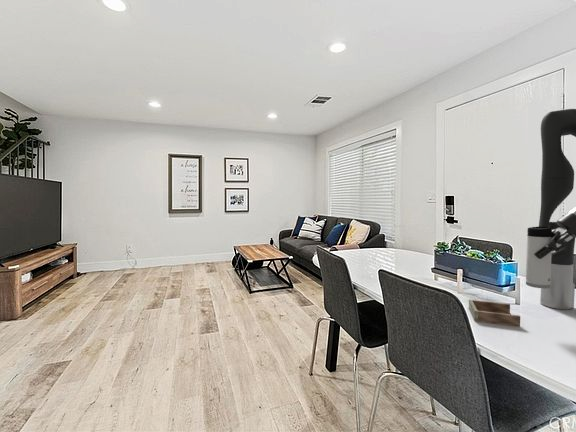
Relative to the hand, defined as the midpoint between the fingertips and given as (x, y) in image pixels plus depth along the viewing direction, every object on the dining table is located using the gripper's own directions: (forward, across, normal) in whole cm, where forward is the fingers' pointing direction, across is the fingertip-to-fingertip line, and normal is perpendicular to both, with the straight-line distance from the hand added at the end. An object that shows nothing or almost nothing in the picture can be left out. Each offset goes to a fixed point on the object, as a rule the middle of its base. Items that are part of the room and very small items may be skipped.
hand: (533, 254), depth 98 cm
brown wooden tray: (+24, -3, +10) cm, 26 cm away
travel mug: (+6, 0, +9) cm, 11 cm away
